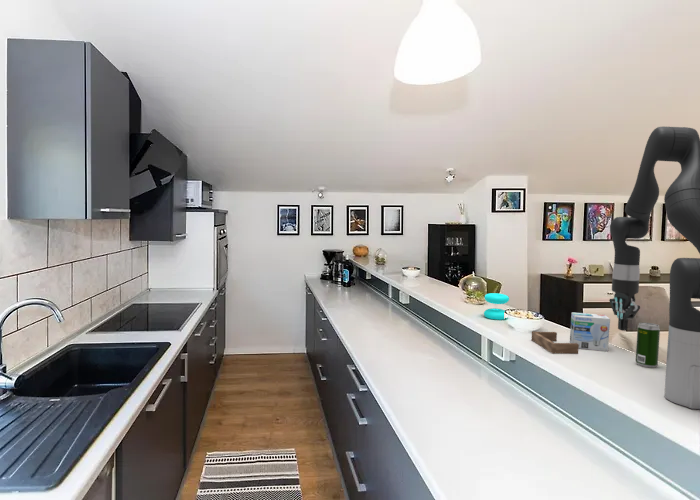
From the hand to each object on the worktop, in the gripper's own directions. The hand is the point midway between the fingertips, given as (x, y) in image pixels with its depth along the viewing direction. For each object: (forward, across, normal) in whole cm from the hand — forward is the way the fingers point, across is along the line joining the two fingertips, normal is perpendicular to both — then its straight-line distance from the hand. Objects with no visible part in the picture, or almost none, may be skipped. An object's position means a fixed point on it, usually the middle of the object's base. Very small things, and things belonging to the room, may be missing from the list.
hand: (622, 329), depth 147 cm
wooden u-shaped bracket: (+6, 0, +23) cm, 24 cm away
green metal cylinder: (+6, -18, +4) cm, 20 cm away
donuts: (+6, +43, +27) cm, 51 cm away
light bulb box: (+6, 0, +11) cm, 13 cm away
